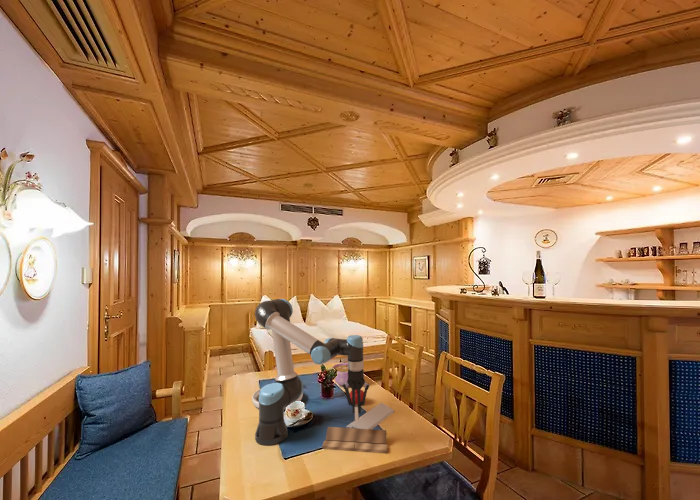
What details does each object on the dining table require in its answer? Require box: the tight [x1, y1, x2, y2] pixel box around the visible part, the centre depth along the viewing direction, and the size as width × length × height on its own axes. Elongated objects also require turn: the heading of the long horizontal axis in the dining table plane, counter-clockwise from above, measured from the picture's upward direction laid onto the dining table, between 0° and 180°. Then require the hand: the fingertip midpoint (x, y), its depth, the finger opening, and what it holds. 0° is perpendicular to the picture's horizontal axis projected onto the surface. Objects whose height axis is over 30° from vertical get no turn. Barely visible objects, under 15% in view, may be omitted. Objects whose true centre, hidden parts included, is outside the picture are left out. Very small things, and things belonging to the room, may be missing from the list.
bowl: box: [251, 387, 304, 411], centre depth 191 cm, size 30×30×8 cm
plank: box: [325, 426, 387, 445], centre depth 147 cm, size 28×6×1 cm
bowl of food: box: [331, 362, 350, 388], centre depth 217 cm, size 20×20×12 cm
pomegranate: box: [349, 389, 364, 405], centre depth 189 cm, size 10×10×9 cm
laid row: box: [321, 439, 388, 454], centre depth 142 cm, size 29×5×1 cm, turn 82°
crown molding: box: [345, 402, 395, 430], centre depth 169 cm, size 29×12×4 cm, turn 144°
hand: (356, 420), depth 148 cm, fingers closed
